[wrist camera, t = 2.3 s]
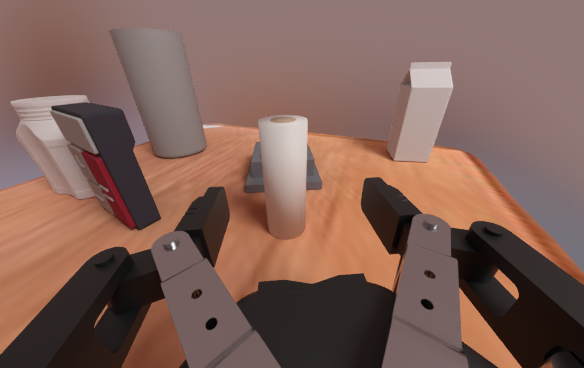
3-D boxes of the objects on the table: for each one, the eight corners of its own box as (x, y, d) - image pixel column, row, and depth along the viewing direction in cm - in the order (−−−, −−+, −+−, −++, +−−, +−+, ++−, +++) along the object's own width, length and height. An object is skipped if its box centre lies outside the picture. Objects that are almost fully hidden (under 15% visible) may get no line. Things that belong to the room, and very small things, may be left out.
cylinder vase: (169, 143, 59) (135, 37, 47) (213, 141, 60) (190, 36, 47) (144, 160, 48) (91, 28, 36) (198, 158, 49) (164, 27, 36)
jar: (143, 176, 41) (109, 95, 34) (89, 202, 33) (29, 104, 26) (104, 169, 44) (65, 94, 37) (47, 191, 37) (-18, 101, 29)
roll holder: (246, 192, 35) (242, 169, 33) (254, 157, 49) (252, 138, 47) (321, 189, 36) (322, 165, 34) (308, 155, 50) (309, 136, 48)
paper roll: (267, 240, 25) (256, 126, 18) (268, 215, 30) (259, 115, 23) (307, 238, 26) (311, 124, 19) (303, 213, 30) (304, 113, 23)
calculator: (100, 208, 32) (40, 106, 24) (131, 195, 35) (86, 101, 28) (133, 235, 27) (70, 115, 19) (166, 217, 30) (122, 108, 22)
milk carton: (427, 162, 45) (462, 61, 35) (393, 161, 46) (418, 62, 36) (416, 151, 51) (442, 62, 41) (385, 150, 52) (405, 62, 42)
